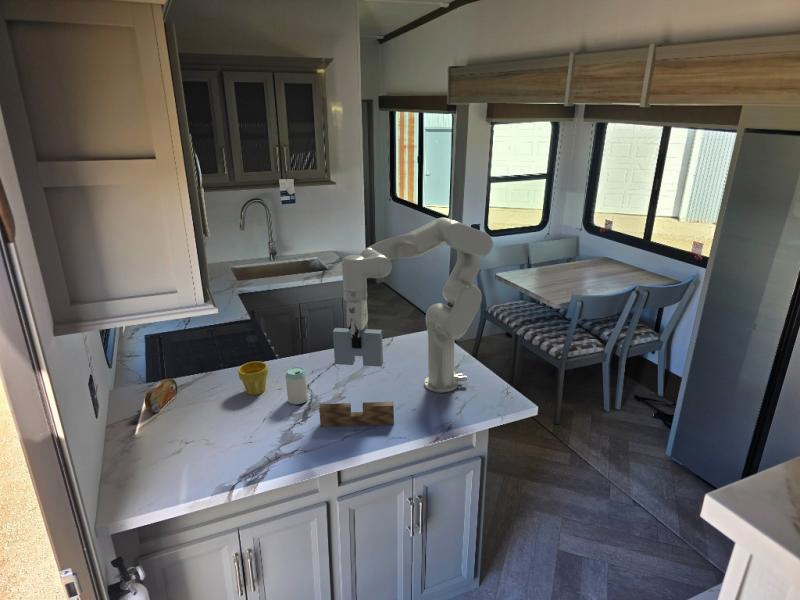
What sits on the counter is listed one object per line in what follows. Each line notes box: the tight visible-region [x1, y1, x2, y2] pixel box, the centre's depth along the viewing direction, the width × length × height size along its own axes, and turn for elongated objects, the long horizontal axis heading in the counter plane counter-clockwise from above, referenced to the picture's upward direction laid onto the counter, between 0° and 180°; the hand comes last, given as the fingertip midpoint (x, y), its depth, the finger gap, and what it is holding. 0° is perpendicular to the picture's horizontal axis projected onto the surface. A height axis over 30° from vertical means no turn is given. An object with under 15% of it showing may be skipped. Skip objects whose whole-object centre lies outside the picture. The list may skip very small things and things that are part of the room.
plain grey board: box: [332, 327, 384, 368], centre depth 175 cm, size 16×3×12 cm, turn 81°
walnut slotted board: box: [318, 401, 395, 428], centre depth 171 cm, size 24×2×7 cm, turn 91°
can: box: [285, 366, 309, 405], centre depth 185 cm, size 7×7×12 cm
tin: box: [144, 378, 178, 413], centre depth 185 cm, size 15×3×8 cm, turn 168°
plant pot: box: [237, 360, 269, 396], centre depth 193 cm, size 10×10×10 cm
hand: (358, 345), depth 175 cm, fingers closed on plain grey board, 3 cm apart
